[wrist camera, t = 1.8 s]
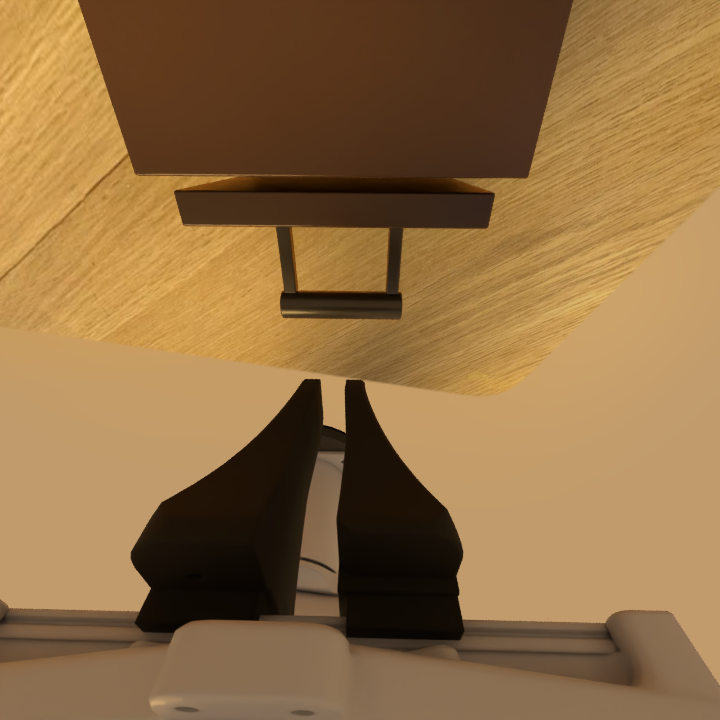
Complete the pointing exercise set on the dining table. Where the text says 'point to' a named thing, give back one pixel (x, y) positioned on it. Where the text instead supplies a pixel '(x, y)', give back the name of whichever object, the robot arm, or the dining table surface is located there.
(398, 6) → the brown drawer cabinet
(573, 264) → the dining table surface
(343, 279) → the dining table surface
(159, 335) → the dining table surface
